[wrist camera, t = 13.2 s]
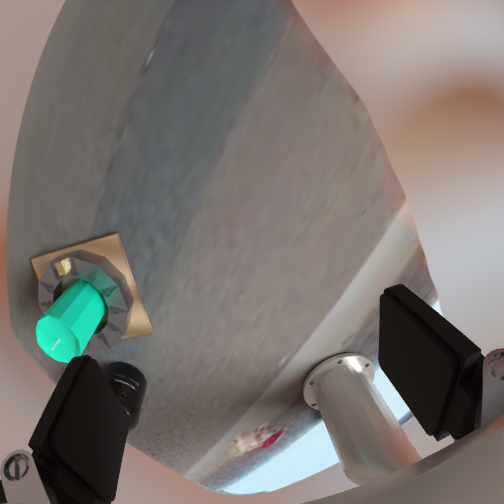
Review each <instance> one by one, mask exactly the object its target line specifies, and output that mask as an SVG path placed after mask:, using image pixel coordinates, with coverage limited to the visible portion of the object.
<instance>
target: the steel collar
mask: <svg viewBox="0 0 504 504" xmlns="http://www.w3.org/2000/svg"><path fill="white" fill-rule="evenodd" d="M72 277H76V278H79V279H82V280H85V281H88V282H90V283H91V284H93V285H94V286H95V287H96V288H97V289H98V290H99V291H100V292H101V293H102V294H103V296H104V298H105V301H106V303H107V306H108V308H109V317H108V320H107V321H106V322H102V323H99V324H98V326H97V328H96V329H95V331H94V333H93V335H92V336H91V338H90V340H89V342H88V344H87V345H86V347H85V350H88V351H94V350H101V349H107V348H111V347H112V346H113V345H114V344H115V343H116V342H117V341H118V340H119V339H120V338H121V337H122V336H123V335H124V334H125V333H126V331H127V328H128V326H129V324H130V319H131V313H132V307H133V302H134V299H133V297H132V294H131V291H130V289H129V286H128V283H127V280H126V278H125V275H124V274H123V273H121V272H120V271H119V270H118V269H117V268H116V267H115V266H114V265H113V264H112V263H111V262H110V261H109V260H108V259H107V258H106V257H105V256H102V255H98V254H95V253H92V252H89V251H85V250H82V249H80V250H77V251H73V252H70V253H67V254H63V255H60V256H59V257H58V258H56V259H55V260H54V261H52V262H51V263H50V265H49V266H48V267H47V269H46V270H45V272H44V273H43V275H42V276H41V278H40V279H39V281H38V305H39V307H40V309H41V311H42V313H43V315H44V314H45V313H46V311H47V310H48V309H49V308H50V307H51V306H52V305H53V304H54V302H55V301H56V300H57V299H58V298H59V297H60V296H61V295H62V285H63V281H64V279H68V278H72Z"/></svg>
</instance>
